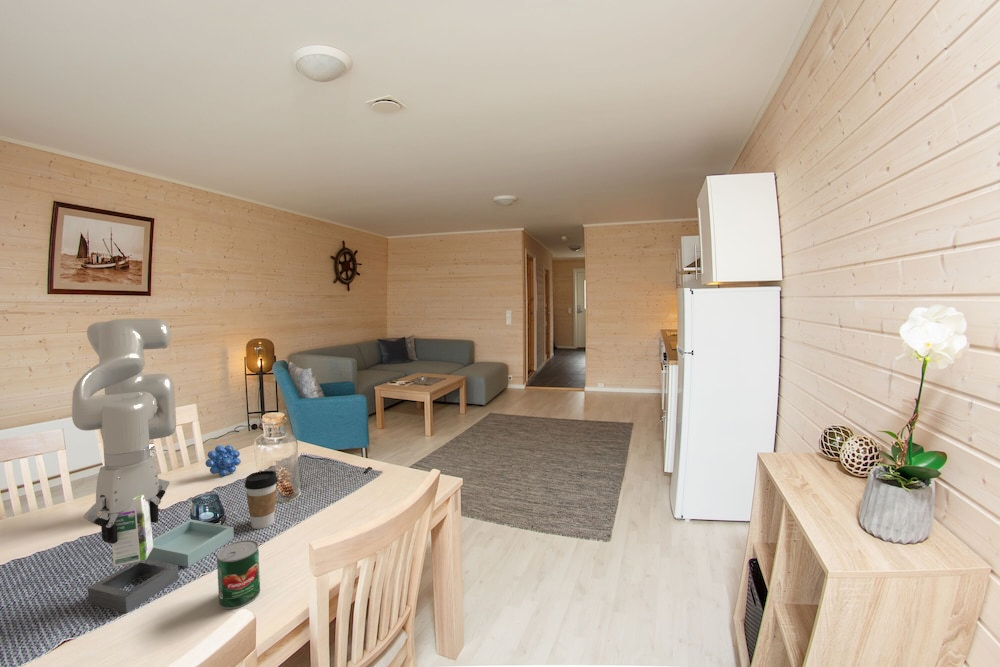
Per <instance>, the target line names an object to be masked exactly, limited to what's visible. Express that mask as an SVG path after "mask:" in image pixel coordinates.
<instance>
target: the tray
mask: <svg viewBox="0 0 1000 667" xmlns="http://www.w3.org/2000/svg"><path fill="white" fill-rule="evenodd" d="M234 529H235V528H234V526H230V525H223V524H220V523H214V522H208V521H207V522H206V521H201V520H196V519H189V520H187V521H185V522H182V523H181V524H179V525H177V526H175V527H173V528H172V529H171V528H170V529H169V530H167V531H166V532H164V533H162V534H160V535H158V536H157V537H155V538H153V549H152V550H151V552H150V554H149V555H148V557H147V559H151V560H156V561H160V562H165V563H170V564H174V565H178V567H179V566H180V567H185V568H190V567H192V566H193V565H195V564H196V563H198V562H199V561H201V560H202V559H204V558H206V557H207V556H209V555H211V553H214V552H215V551H217V550H218V549H220V548H222V547H224V545H226V544H228V543H229V542H232V540H233V539H234V538H235V534H234V533H235V531H234Z"/></svg>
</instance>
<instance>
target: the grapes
mask: <svg viewBox="0 0 1000 667" xmlns="http://www.w3.org/2000/svg"><path fill="white" fill-rule="evenodd" d="M207 457H208V459H206V460H205V465H206V467H207V468H209V472H210V473H211V474H212V475H216V474H217V475H219V476H220V477H225V476H227V475H228V473H230V474H231V473H232V474H233V473H235V472H236V471H237V466H240V465H241V462H242V461H241V458H239V457H240V452H239V450H238V449H236V450H234V447H233V445H232V444H231V445H230V444H229V445H225V446H223V445H217V446H216V447H215V448H214V450H211V451H209V452H208V453H207Z"/></svg>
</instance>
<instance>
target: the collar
mask: <svg viewBox="0 0 1000 667" xmlns="http://www.w3.org/2000/svg"><path fill="white" fill-rule="evenodd" d="M139 578H146V580H145V581H142V582H140V584H138V585H136V586H135V587H133V588H132V589H130V590H125V589H123V588H124V587H126V586H127V585H130V584H131V583H132V582H135V581H136V580H138V579H139ZM178 580H179V565H175V564H170V563H165V562H161V561H156V560H152V559H146V560H144V561H138V562H134V563H129V564H127V566H124V567H123V568H121V569H119V570H118V571H116V572H114V573H112V574H110V575H108V576H106V577H104V578H103V579H100V580H99V581H97V582H95V583H94V584H92V585H90V586H88V587H87V595H88V596H87V597H88V604H91V605H95V606H99V607H103V608H107V609H110V610H114V611H118V612H121V613H125V614H127V613H130V612H131V611H132V610H134V609H135V608H137V607H139V606H140V605H141V604H143V603H145V602H147V600H149V599H150V598H152V597H153V596H155V595H157V594H159V593H161V591H163V590H164V589H166V588H168V587H169V586H171V585H173V584H174V583H175V582H177V581H178Z"/></svg>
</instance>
